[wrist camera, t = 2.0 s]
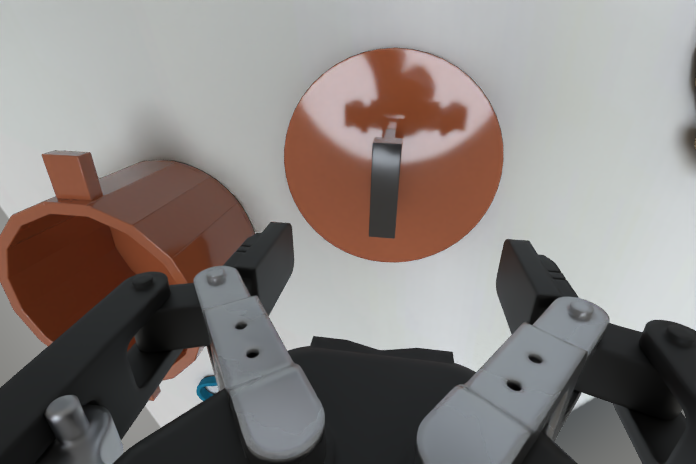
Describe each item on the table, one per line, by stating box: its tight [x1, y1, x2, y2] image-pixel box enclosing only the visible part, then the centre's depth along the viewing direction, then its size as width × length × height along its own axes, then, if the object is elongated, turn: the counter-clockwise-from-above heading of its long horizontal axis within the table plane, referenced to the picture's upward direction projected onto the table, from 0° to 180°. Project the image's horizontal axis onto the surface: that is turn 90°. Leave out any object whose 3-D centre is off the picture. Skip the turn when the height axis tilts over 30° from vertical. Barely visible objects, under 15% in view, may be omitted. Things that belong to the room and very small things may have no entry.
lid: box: [284, 48, 503, 262], centre depth 25 cm, size 16×16×6 cm
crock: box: [0, 150, 254, 401], centre depth 30 cm, size 15×20×10 cm
